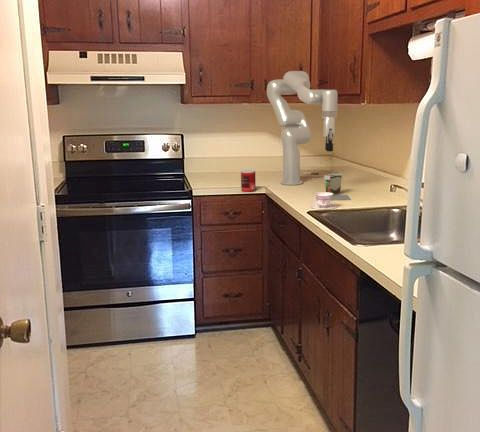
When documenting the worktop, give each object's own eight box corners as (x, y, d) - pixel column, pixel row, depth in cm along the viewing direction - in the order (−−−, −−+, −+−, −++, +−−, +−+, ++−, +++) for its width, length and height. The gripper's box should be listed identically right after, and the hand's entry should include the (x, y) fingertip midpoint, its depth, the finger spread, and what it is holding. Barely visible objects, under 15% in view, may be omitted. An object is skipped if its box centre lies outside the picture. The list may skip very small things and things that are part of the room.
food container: (331, 192, 280) (331, 173, 279) (341, 193, 276) (342, 173, 275) (318, 195, 271) (319, 175, 269) (329, 196, 267) (329, 175, 265)
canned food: (255, 189, 292) (254, 169, 290) (256, 192, 285) (255, 171, 282) (241, 189, 292) (240, 169, 290) (241, 192, 284) (241, 171, 282)
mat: (315, 195, 271) (315, 195, 271) (347, 195, 270) (347, 194, 270) (317, 200, 260) (317, 199, 259) (351, 200, 259) (351, 199, 259)
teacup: (335, 204, 251) (335, 191, 249) (339, 209, 239) (339, 196, 238) (309, 204, 251) (309, 191, 250) (311, 210, 239) (311, 196, 238)
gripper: (320, 114, 282) (320, 149, 286) (324, 115, 266) (323, 152, 270) (334, 113, 282) (334, 149, 286) (339, 115, 265) (338, 152, 269)
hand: (329, 150), depth 278 cm, fingers open, 4 cm apart
